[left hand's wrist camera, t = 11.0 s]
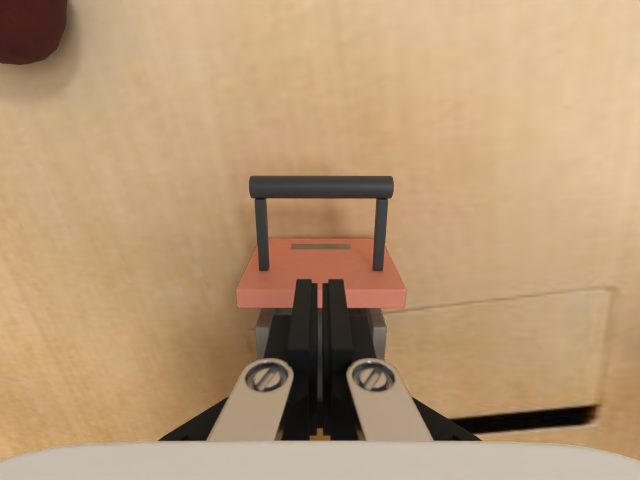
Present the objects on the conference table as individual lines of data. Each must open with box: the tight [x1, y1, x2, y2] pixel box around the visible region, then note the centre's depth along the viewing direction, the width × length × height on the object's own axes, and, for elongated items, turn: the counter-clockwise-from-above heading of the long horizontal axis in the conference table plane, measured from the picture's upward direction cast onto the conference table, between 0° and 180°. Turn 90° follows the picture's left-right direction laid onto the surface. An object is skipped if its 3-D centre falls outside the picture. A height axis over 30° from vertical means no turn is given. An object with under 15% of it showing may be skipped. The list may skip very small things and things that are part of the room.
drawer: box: [236, 176, 407, 428], centre depth 26 cm, size 24×10×8 cm, turn 0°
